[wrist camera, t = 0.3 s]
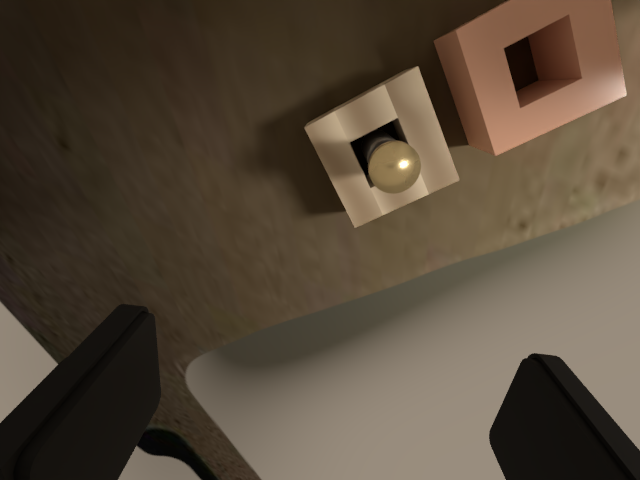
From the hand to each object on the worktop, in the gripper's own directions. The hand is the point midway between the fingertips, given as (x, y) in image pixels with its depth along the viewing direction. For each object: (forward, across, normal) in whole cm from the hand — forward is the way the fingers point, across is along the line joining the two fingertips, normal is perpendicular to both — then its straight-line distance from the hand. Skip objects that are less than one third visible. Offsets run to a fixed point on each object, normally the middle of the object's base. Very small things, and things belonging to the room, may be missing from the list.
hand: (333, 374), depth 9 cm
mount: (+28, -4, -2) cm, 29 cm away
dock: (+28, -14, -10) cm, 33 cm away
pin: (+28, -4, -2) cm, 29 cm away
